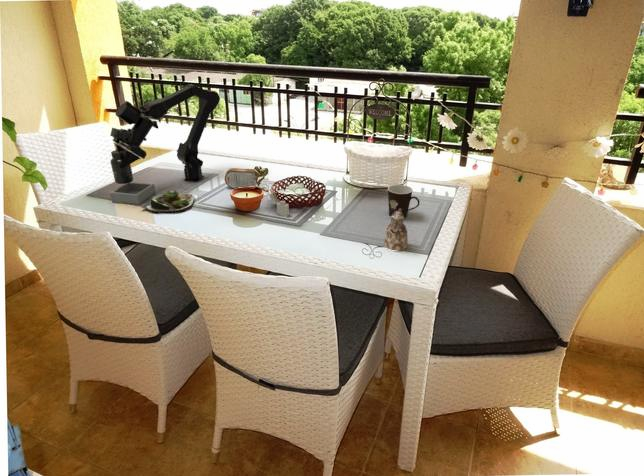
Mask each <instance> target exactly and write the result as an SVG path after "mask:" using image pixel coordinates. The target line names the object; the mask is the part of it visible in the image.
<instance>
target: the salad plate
mask: <svg viewBox="0 0 644 476" xmlns="http://www.w3.org/2000/svg"><path fill="white" fill-rule="evenodd" d="M195 197H196V196H195V195H194V194H192V193H179V192H178V191H177V190H175V189H173V190H171V191H167V192H165V193H162V194H159V195H155V196H152V197H151V199H150V201H149V202H147V203H145V204H143V205H142V206H141V209H145V210H147V211H149V212H150V213H153V214H159V215H161V214H166V215H167V214H168V215H169V214H178V213H179V214H180V213H183V212H185V211H188V210H189V209H190V208H192V207H193V203H194V200H195Z"/></svg>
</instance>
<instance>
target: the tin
mask: <svg viewBox="0 0 644 476" xmlns="http://www.w3.org/2000/svg"><path fill="white" fill-rule="evenodd" d="M253 170H255V169H253V168H237V167H232V168H230V169H228V170H227V171H226V172H225V175H224V182H225V185H227V187H229V188H230V189H233V190H234V189H235V188H239V187H249V186H256V182H255V181H254V179H253ZM262 181H263V180H261V181H260V182H259V183H258V187H259V186H260V185H261V184H262ZM235 190H236V189H235Z"/></svg>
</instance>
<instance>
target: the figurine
mask: <svg viewBox="0 0 644 476" xmlns="http://www.w3.org/2000/svg"><path fill="white" fill-rule="evenodd" d="M404 219H405V218H404V216H403V213H402V209H399V210H398V211H396V212H394V213H393V214H392V216H391V217H390V224H388V226H387V228H386V231H385V232H386V233H385V237H384V243H383V244H384V246H385V245H386V247H387V248H388V249H391V250H403V251H404V249H405V248H406V249H407V247H408V242H409V241H408V238H409V237H408V229H407V227H406V224H404ZM386 247H385V248H386ZM387 248H386V249H387ZM388 249H387V250H388ZM406 249H405V250H406ZM391 250H390V251H391Z"/></svg>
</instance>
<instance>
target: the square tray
mask: <svg viewBox="0 0 644 476" xmlns="http://www.w3.org/2000/svg"><path fill="white" fill-rule="evenodd" d="M155 189H156V188H155V184H154V183H143V182H134V181H132V182H130V183H126V184H121V185H120V186H119V187H117V188H115V189H114V190H112V191H110V193H109V195H110V197H111V198H110V199H111V203H117V204H125V205H126V204H127V205H137V206H139V205H142V204H143V203H144V202H146V201H147V200H149V199H150V198H152V197H153V196H154V195H156V194H155V193H156V190H155ZM152 195H153V196H152Z"/></svg>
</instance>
